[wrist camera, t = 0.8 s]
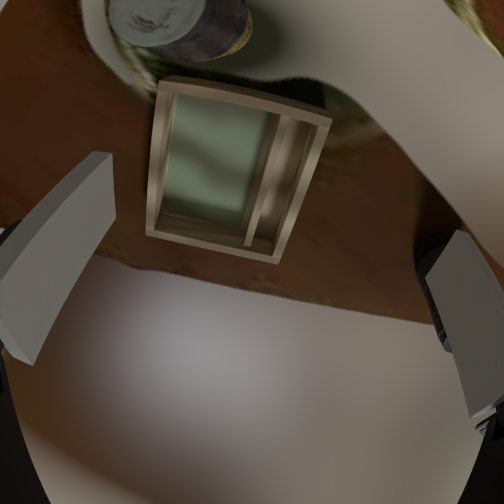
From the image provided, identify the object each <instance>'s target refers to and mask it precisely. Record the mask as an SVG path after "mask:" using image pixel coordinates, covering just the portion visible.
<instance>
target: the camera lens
mask: <svg viewBox="0 0 504 504" xmlns="http://www.w3.org/2000/svg"><path fill="white" fill-rule="evenodd" d="M450 239H451V238H450V237H449V236H447V235H445V234H434V235H431V236H429V237H427V238H425V239H424V240H423V241H422V242H421V243H420V244H419V245H418V247H417V248H416V250H415V252H414V263H415V272H416V275H417V279H418V282H419V284H420V287H421V289H422V292H423V293H424V296H425V298H426V300H427V303H428V306H429V308H430V311H431V316H432V320H433V323H434V326H435V329H436V332H437V335H438V338H439V340H440V342H441V343H442V346H443V348H444V350H445V351H447V352H449V353H452V350H451V347H450V344H449V340H448V337H447V335H446V332H445V329H444V326H443V323H442V320H441V318H440V315H439V312H438V309H437V307H436V304H435V302H434V299H433V296H432V294H431V291H430V289H429V286H428V284H427V282H426V279H425V277H426V276H427V274H428V273H429V271H430V270H431V269H432V267H433V266H434V264H435V263H436V261H437V260H438V258H439V257H440V255H441V254H442V252H443V250H444V249H445V247H446V246H447V244H448V243H449V241H450Z"/></svg>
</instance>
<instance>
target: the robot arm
mask: <svg viewBox="0 0 504 504" xmlns="http://www.w3.org/2000/svg"><path fill="white" fill-rule="evenodd" d="M115 219H116V213H115V201H114V186H113V165H112V153H106V152H97V151H93V152H92V153H91V154H90V155H89V156H87V157H86V158H85V159H84V160H83V161H82V162H81V163H79V164H78V165H77V166H76V167H75V168H74V169H73V170H72V171H71V172H70V173H69V174H67V175H66V176H65V177H64V178H63V179H62V180H61V181H60V182H59V183H58V184H57V185H56V186H55V187H54V188H53V189H52V190H51V191H50V192H49V193H48V194H47V195H46V196H45V197H44V198H43V199H42V200H41V201H40V202H39V203H38V204H37V205H36V206H35V207H34V208H33V209H32V211H31V212H30V213H29V214H28V215H27V216H26V217H25V218H24V219H23V220H18V221H16V222H15V223H13V224H12V225H10V226H9V227H8V228H6V229H5V230H4V231H3V232H2V233H1V235H0V504H51V503H50V501H49V499H48V497H47V495H46V493H45V491H44V488H43V486H42V484H41V482H40V480H39V477H38V475H37V472H36V470H35V468H34V465H33V463H32V460H31V457H30V455H29V452H28V449H27V446H26V444H25V441H24V438H23V435H22V432H21V429H20V425H19V422H18V419H17V415H16V412H15V408H14V404H13V400H12V396H11V392H10V388H9V383H8V378H7V374H6V368H5V363H4V359H3V357H2V354H1V351H2V349H3V347H4V346H5V347H6V348H7V350H8V351H9V352H10V354H11V355H12V356H13V357H15V358H17V359H19V360H21V361H23V362H26V363H28V364H30V365H32V366H33V365H34V362H35V360H36V358H37V356H38V354H39V352H40V349H41V347H42V345H43V343H44V341H45V339H46V337H47V335H48V333H49V331H50V329H51V327H52V325H53V323H54V320H55V319H56V317H57V315H58V313H59V311H60V309H61V307H62V306H63V304H64V302H65V300H66V298H67V296H68V294H69V293H70V291H71V289H72V287H73V286H74V284H75V282H76V280H77V279H78V277H79V275H80V274H81V272H82V270H83V268H84V267H85V265H86V264H87V262H88V260H89V259H90V257H91V255H92V254H93V252H94V251H95V249H96V247H97V246H98V244H99V243H100V241H101V240H102V238H103V237H104V235H105V233H106V232H107V230H108V229H109V227H110V226H111V224H112V223H113V221H114V220H115ZM425 279H426V282H427V284H428V286H429V289H430V291H431V294H432V296H433V299H434V302H435V304H436V307H437V309H438V312H439V315H440V318H441V320H442V323H443V326H444V329H445V332H446V335H447V337H448V340H449V344H450V347H451V350H452V353H453V356H454V359H455V363H456V366H457V369H458V373H459V376H460V380H461V384H462V388H463V391H464V395H465V399H466V403H467V408H468V412H469V417H470V418H471V417H477V416H482V415H484V414H485V413H487V412H489V411H490V410H492V409H493V408H494V407H496V411H497V412H496V413H494V414H493V415H491V416H490V417H488V418H487V419H485V420H483V421H482V422H480V423H479V424H477V426H476V428H475V429H476V430H477V429H479V428H481V427H483V426H484V425H486V427H485V428H483V429H481V430H480V431H479V433H481V434H482V435H483V436H484V439H483V442H482V445H481V448H480V450H479V453H478V456H477V459H476V461H475V464H474V467H473V469H472V472H471V474H470V477H469V479H468V481H467V484H466V486H465V489H464V491H463V493H462V495H461V497H460V499H459V501H458V503H457V504H504V292H503V290H502V288H501V286H500V284H499V282H498V281H497V279H496V277H495V275H494V273H493V272H492V270H491V268H490V267H489V265H488V263H487V262H486V260H485V258H484V257H483V255H482V253H481V252H480V250H479V249H478V247H477V245H476V244H475V242H474V241H473V239H472V238H471V236H470V235H469V233H466V232H463V231H460V230H456V231H455V233H454V234H453V236H452V238H451V239H450V241H449V243H448V244H447V246H446V247H445V249H444V250H443V252H442V254H441V255H440V257H439V258H438V260H437V261H436V263H435V264H434V266H433V267H432V269H431V270H430V271H429V273H428V274H427V276H426V277H425Z"/></svg>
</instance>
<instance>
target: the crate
mask: <svg viewBox="0 0 504 504" xmlns="http://www.w3.org/2000/svg"><path fill="white" fill-rule="evenodd" d="M332 120H333V119H332V118H331V116H330V115H329V113H328V112H327V110H326V109H323V108H320V107H317V106H313V105H310V104H307V103H303V102H300V101H296V100H293V99H289V98H286V97H282V96H278V95H274V94H270V93H266V92H262V91H258V90H254V89H249V88H245V87H240V86H236V85H231V84H226V83H220V82H215V81H209V80H204V79H197V78H191V77H184V76H177V75H171V76H168V77H166V78H164V79H161V80H159V85H158V91H157V98H156V106H155V114H154V122H153V131H152V140H151V151H150V162H149V175H148V191H147V211H146V235H148V236H152V237H156V238H161V239H165V240H170V241H174V242H179V243H183V244H188V245H192V246H197V247H201V248H206V249H210V250H215V251H219V252H224V253H228V254H233V255H237V256H242V257H246V258H251V259H255V260H260V261H264V262H269V263H273V264H278V263H279V261H280V258H281V256H282V253H283V251H284V248H285V246H286V243H287V241H288V238H289V235H290V233H291V230H292V228H293V225H294V222H295V220H296V217H297V215H298V212H299V209H300V207H301V204H302V202H303V199H304V196H305V194H306V191H307V188H308V186H309V183H310V180H311V178H312V175H313V172H314V169H315V167H316V164H317V161H318V159H319V156H320V153H321V150H322V148H323V145H324V142H325V139H326V137H327V134H328V131H329V128H330V125H331V123H332Z"/></svg>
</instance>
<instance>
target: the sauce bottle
mask: <svg viewBox="0 0 504 504" xmlns="http://www.w3.org/2000/svg"><path fill="white" fill-rule="evenodd" d="M109 20H110V23H111V26H112V28H113V29H114V31H115V33H116V34H117V36H119V37H120V38H122V39H123V40H124V41H125V42H126V43H128V44H130V45H133V46H137V47H141V48H150V49H160V50H162V51H164V52H166V53H168V54H170V55H172V56H174V57H175V58H177V59H180V60H183V61H187V62H203V61H208V60H211V59H216V58H219V57H223V56H226V55H230V54H232V53H234V52H236V51H238V50H239V49H241V48H242V47H243V46H244V45H245V44H246V43H247V41H248V40H249V38H250V35H251V33H252V25H253V23H252V18H251V15H250V12H249V9H248V7H247V4H246V2H245V0H110V5H109Z"/></svg>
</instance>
